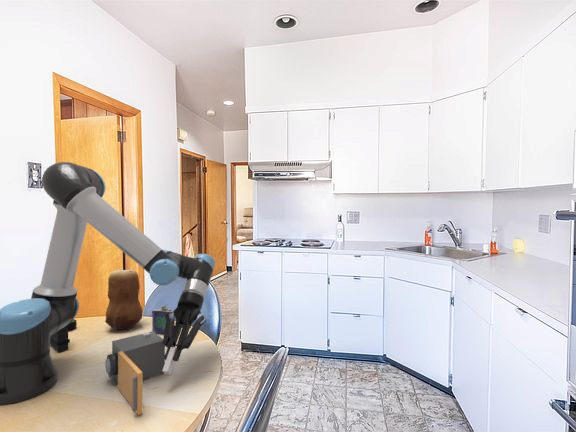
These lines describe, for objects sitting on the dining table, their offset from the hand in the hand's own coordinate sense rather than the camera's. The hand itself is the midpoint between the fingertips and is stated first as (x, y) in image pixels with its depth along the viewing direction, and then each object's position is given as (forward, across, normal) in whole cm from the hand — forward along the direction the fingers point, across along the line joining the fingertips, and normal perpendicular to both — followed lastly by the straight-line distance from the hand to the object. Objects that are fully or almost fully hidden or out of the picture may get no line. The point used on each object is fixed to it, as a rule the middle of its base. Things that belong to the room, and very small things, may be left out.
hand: (166, 372), depth 85 cm
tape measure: (-21, +64, -29) cm, 74 cm away
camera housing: (-1, +14, -8) cm, 16 cm away
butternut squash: (-25, +41, -33) cm, 59 cm away
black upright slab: (-11, +54, -19) cm, 58 cm away
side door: (+8, +7, +1) cm, 11 cm away
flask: (-23, +22, -30) cm, 44 cm away
